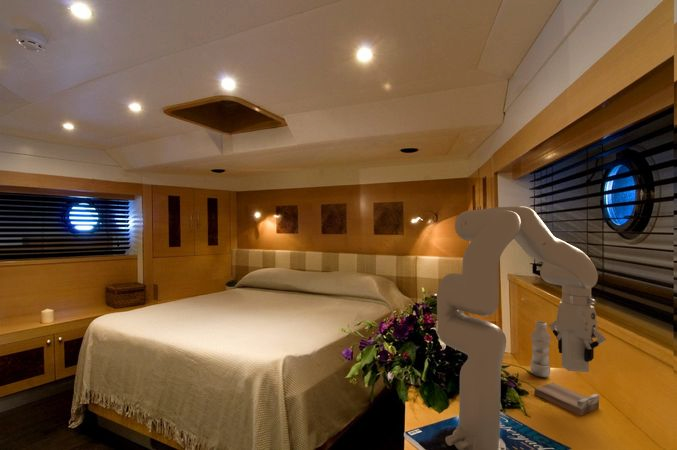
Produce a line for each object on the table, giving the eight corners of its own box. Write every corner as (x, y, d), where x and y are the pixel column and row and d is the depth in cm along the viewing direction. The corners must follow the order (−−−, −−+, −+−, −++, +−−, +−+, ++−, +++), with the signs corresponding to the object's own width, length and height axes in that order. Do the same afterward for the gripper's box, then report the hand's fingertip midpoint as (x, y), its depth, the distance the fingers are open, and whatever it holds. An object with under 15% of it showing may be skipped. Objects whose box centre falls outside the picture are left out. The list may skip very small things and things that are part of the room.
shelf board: (582, 416, 100) (582, 402, 100) (534, 394, 112) (534, 382, 112) (599, 408, 104) (600, 395, 104) (552, 388, 117) (552, 376, 117)
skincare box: (581, 367, 108) (582, 329, 108) (589, 372, 104) (589, 333, 104) (560, 365, 109) (561, 328, 109) (567, 371, 105) (568, 332, 105)
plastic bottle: (532, 378, 125) (533, 324, 125) (528, 370, 131) (529, 319, 131) (552, 380, 123) (553, 325, 123) (547, 373, 129) (548, 320, 129)
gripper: (615, 304, 100) (613, 364, 100) (554, 293, 116) (553, 345, 116) (601, 307, 97) (600, 369, 97) (541, 295, 112) (540, 349, 112)
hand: (575, 356), depth 106 cm, fingers closed on skincare box, 6 cm apart
